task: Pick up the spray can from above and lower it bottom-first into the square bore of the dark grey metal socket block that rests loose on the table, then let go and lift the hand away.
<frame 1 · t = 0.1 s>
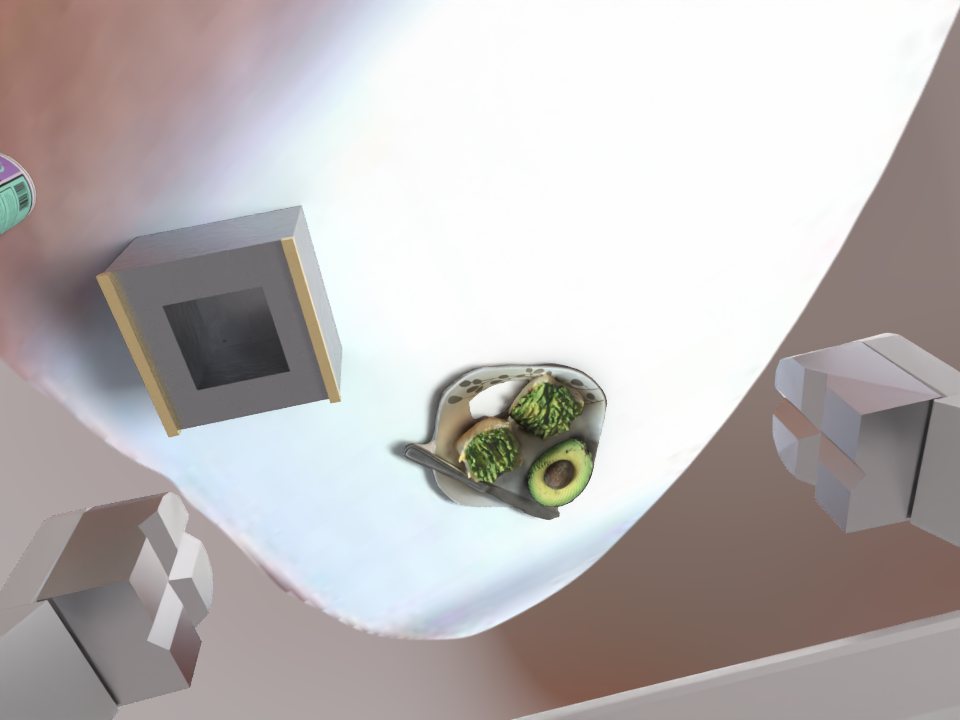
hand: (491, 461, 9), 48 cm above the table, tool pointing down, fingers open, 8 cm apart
salad plate: (519, 434, 69), on the table
socket block: (245, 295, 57), on the table
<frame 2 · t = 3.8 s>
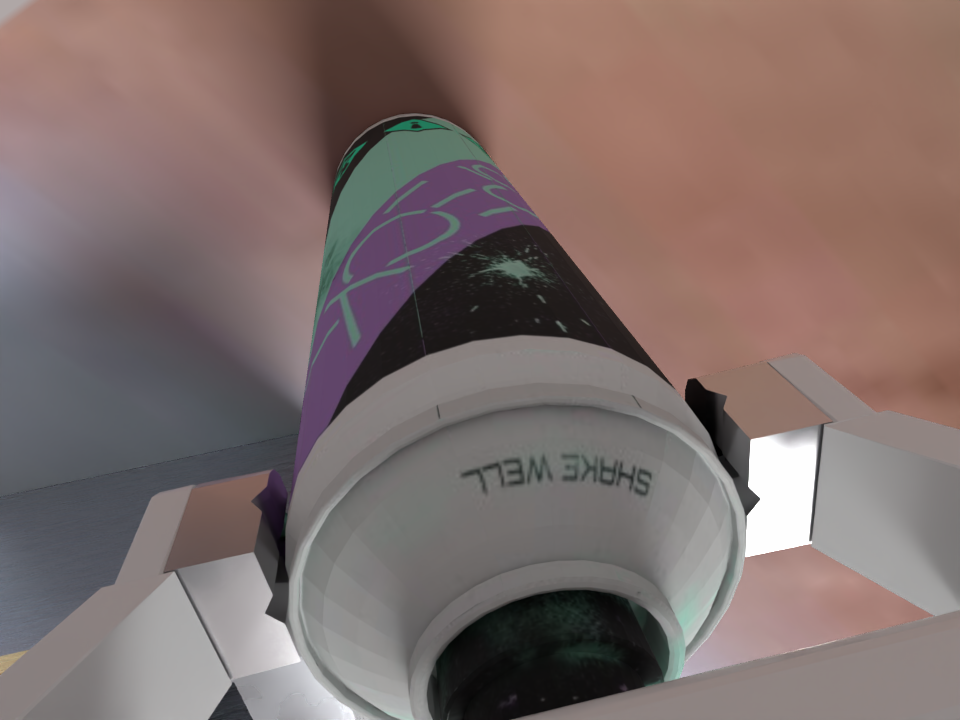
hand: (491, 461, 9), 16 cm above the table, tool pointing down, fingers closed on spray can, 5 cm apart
spray can: (415, 196, 23), on the table, touching gripper
socket block: (210, 581, 30), on the table
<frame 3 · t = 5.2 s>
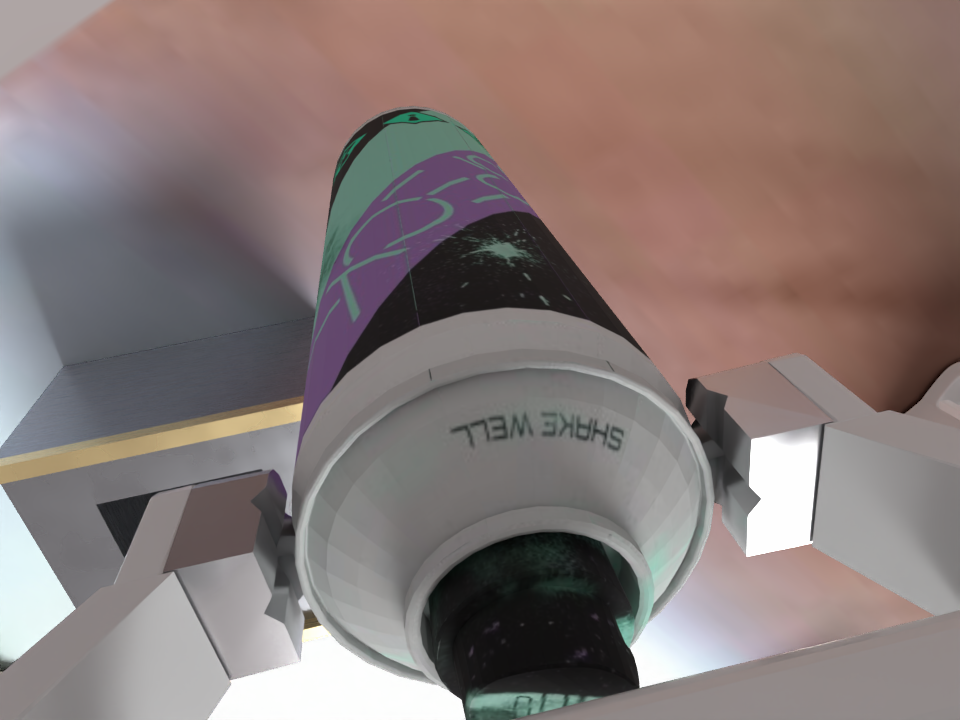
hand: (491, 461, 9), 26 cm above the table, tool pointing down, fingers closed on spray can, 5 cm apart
spray can: (413, 187, 24), point 10 cm above the table, touching gripper
socket block: (233, 441, 38), on the table
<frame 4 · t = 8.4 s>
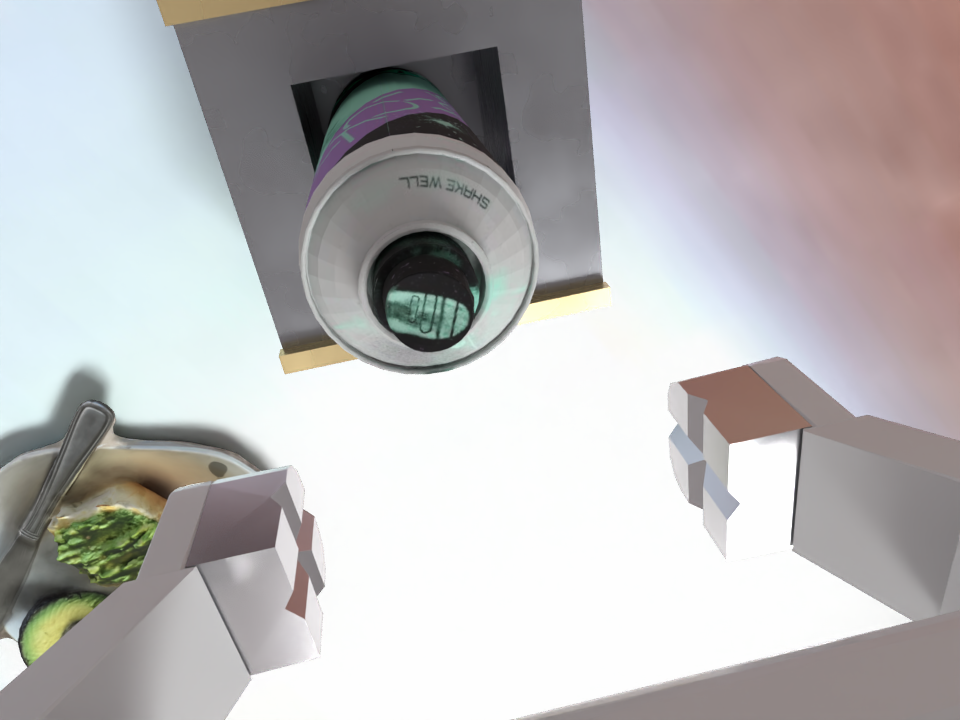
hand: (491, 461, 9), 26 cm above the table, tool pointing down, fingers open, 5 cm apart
salad plate: (145, 551, 41), on the table
spray can: (392, 131, 31), point 1 cm above the table, touching socket block
socket block: (403, 129, 32), on the table, touching spray can
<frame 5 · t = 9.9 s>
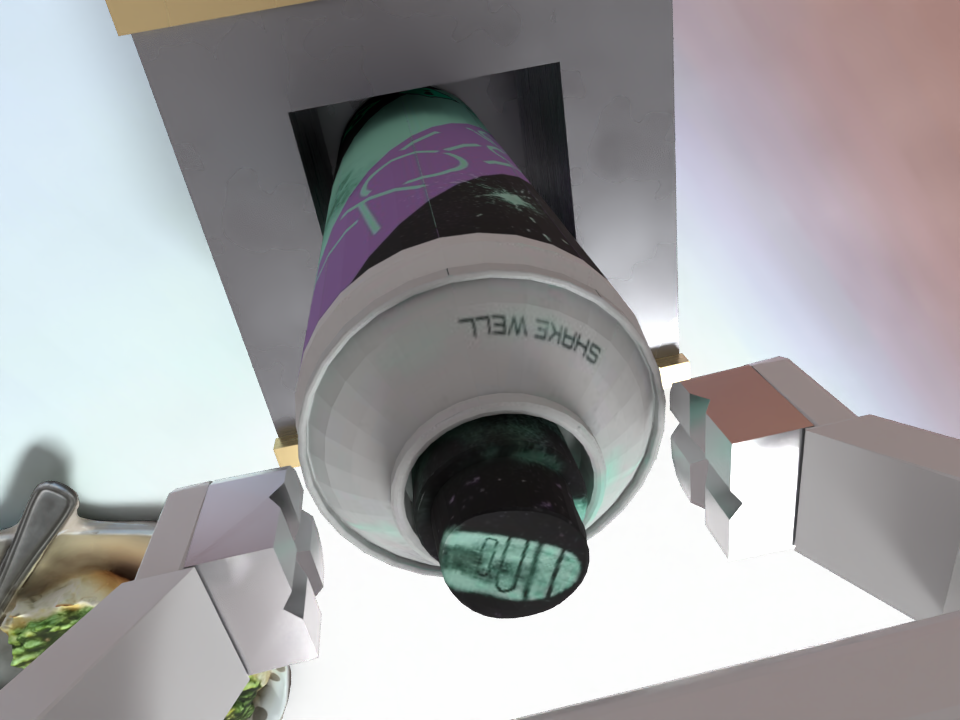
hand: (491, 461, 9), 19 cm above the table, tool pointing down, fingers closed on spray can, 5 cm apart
salad plate: (121, 640, 36), on the table
spray can: (414, 160, 25), point 1 cm above the table, touching gripper, socket block
socket block: (427, 157, 27), on the table, touching spray can
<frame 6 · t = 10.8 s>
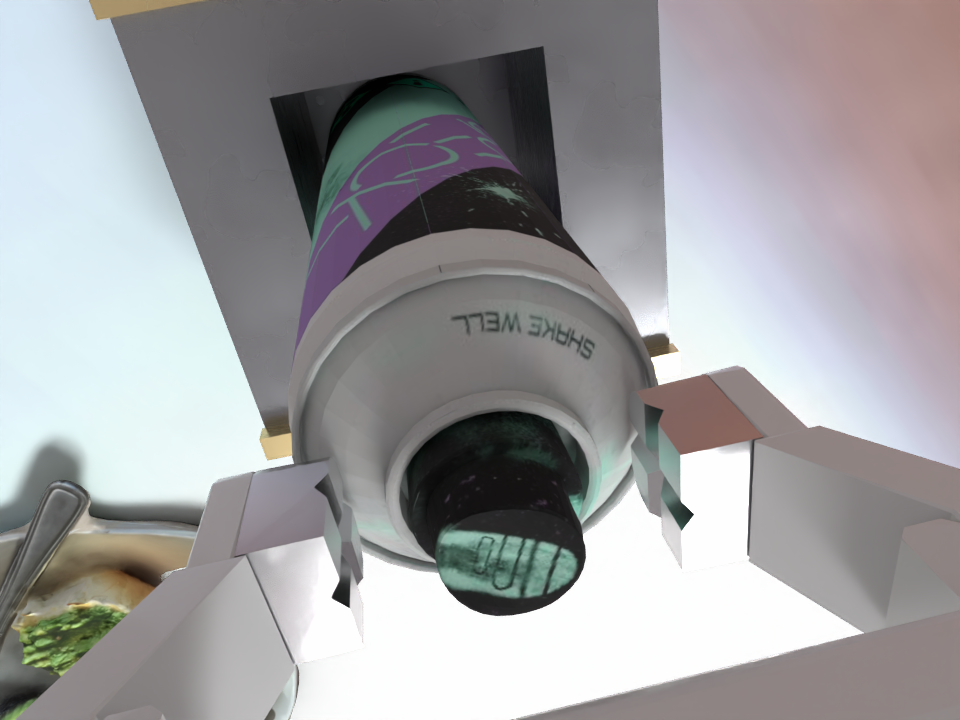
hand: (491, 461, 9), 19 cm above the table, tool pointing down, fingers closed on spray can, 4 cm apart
salad plate: (130, 639, 36), on the table
spray can: (404, 151, 25), point 1 cm above the table, touching gripper, socket block
socket block: (418, 148, 26), on the table, touching spray can
when the fingers open (19 cm above the table, at t = 10.9 s): spray can stays where it is, resting on socket block.
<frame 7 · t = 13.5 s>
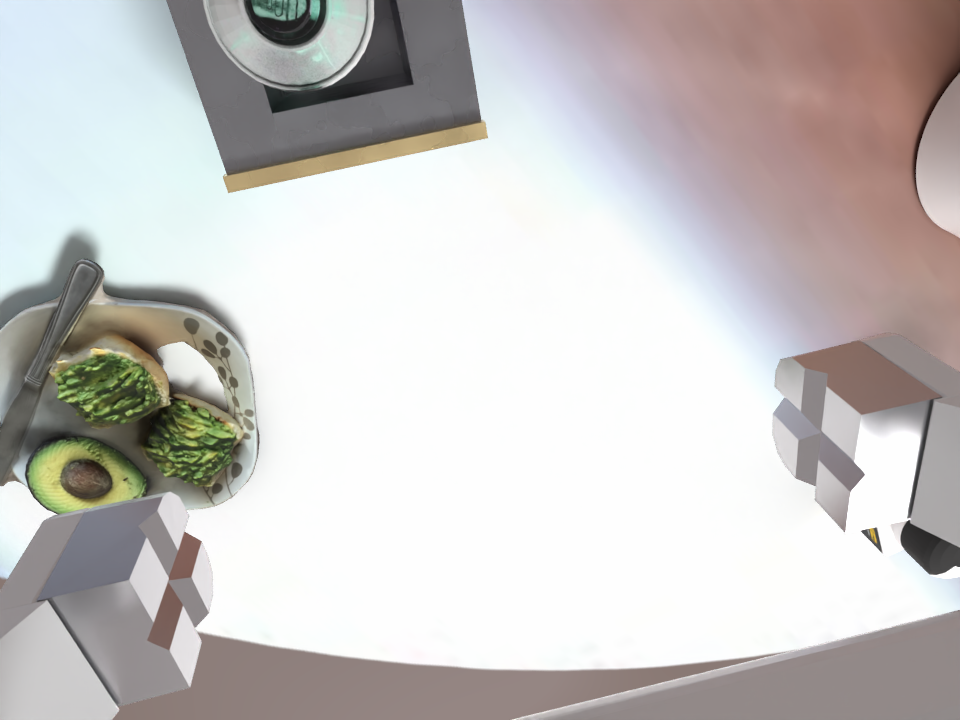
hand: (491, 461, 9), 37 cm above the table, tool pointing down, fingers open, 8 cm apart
salad plate: (132, 408, 49), on the table
medicine bottle: (862, 459, 62), on the table
spray can: (317, 14, 38), point 1 cm above the table, touching socket block
socket block: (328, 17, 39), on the table, touching spray can
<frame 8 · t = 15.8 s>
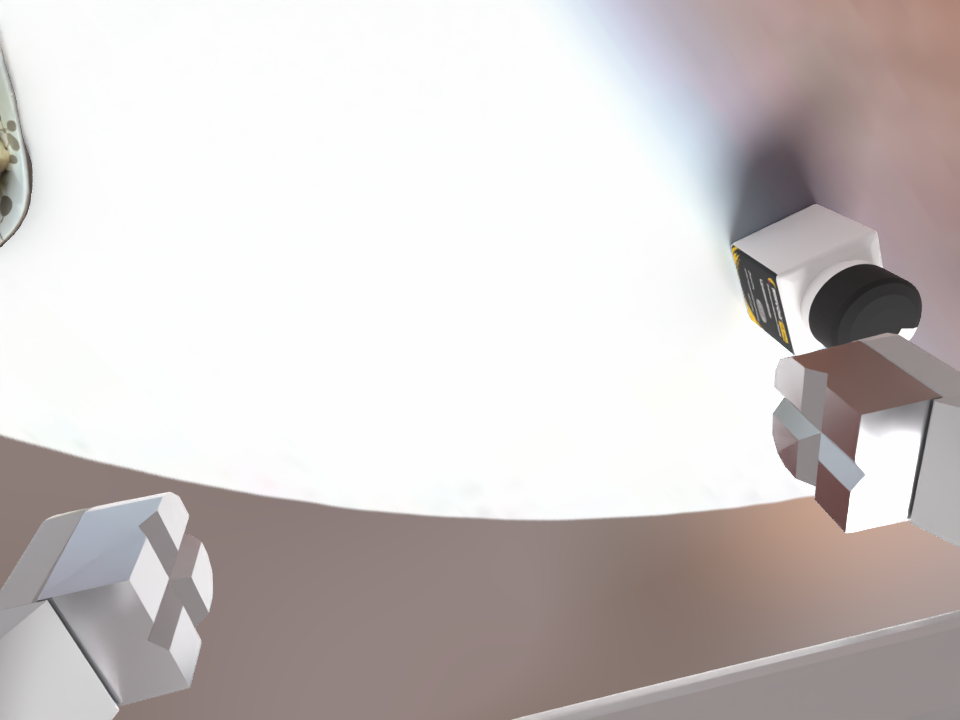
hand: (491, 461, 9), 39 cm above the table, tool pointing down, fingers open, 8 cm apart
medicine bottle: (780, 261, 53), on the table
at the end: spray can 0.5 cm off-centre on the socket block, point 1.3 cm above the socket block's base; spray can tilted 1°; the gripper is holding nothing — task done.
